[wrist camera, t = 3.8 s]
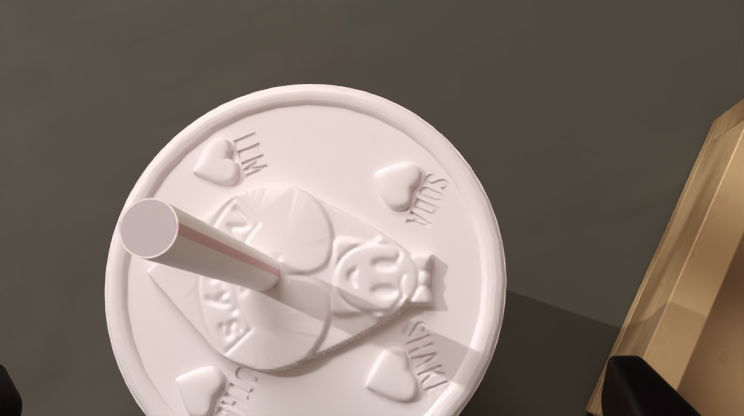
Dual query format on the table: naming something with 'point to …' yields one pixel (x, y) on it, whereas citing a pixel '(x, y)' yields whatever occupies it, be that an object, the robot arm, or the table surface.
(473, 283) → the smoothie
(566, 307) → the table surface
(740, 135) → the caddy
